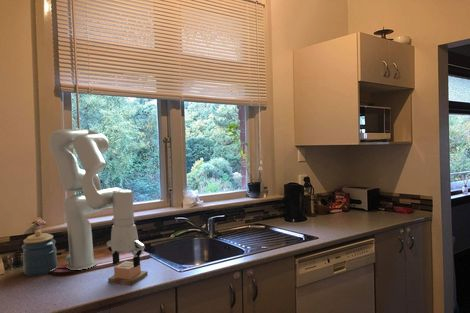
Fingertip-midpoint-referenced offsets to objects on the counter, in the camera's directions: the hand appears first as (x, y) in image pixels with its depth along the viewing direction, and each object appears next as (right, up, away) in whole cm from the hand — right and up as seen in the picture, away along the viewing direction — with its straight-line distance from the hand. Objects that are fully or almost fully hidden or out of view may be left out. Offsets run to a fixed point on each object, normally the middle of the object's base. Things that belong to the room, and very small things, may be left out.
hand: (126, 264), depth 144 cm
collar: (+1, -4, 0) cm, 4 cm away
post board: (+1, -6, 0) cm, 6 cm away
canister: (-41, -7, +14) cm, 43 cm away
